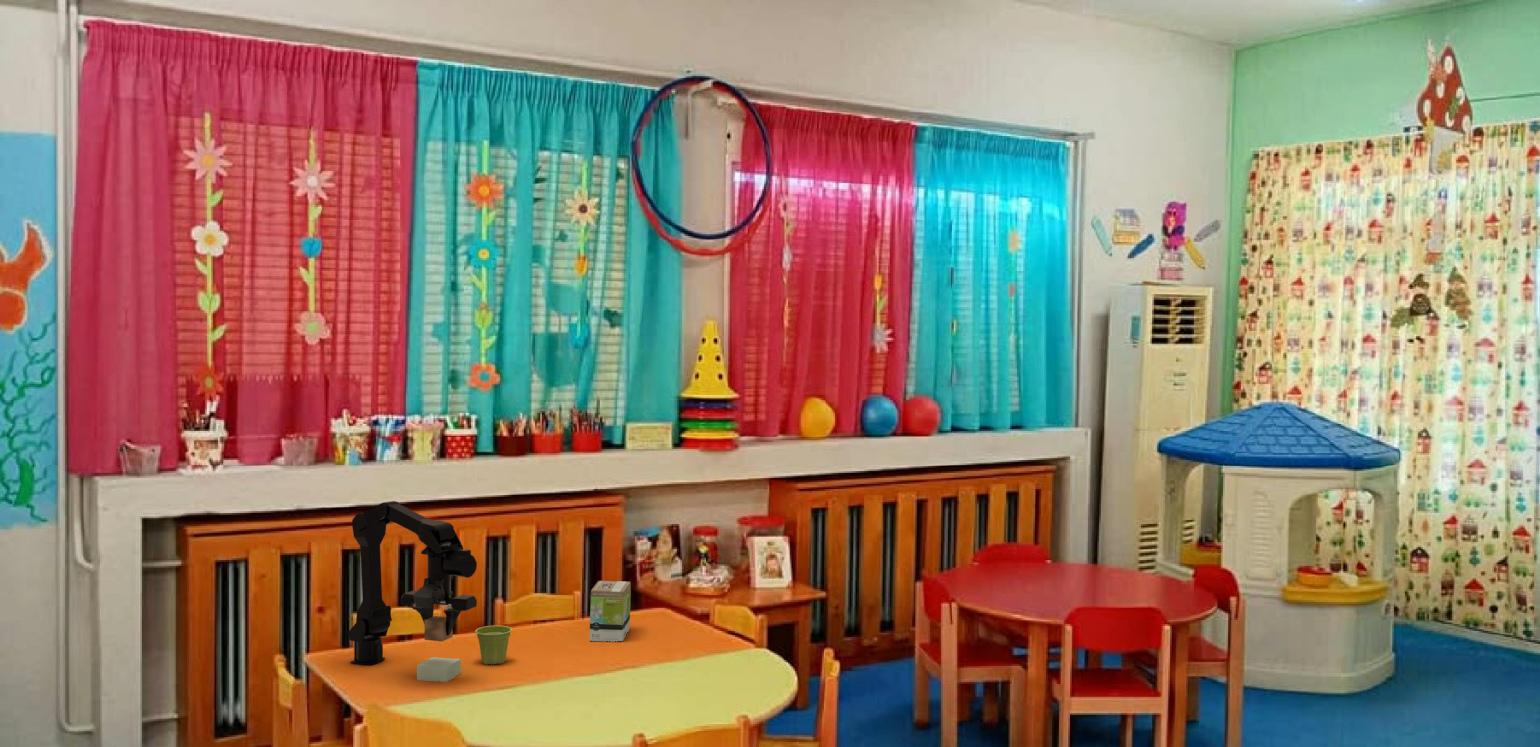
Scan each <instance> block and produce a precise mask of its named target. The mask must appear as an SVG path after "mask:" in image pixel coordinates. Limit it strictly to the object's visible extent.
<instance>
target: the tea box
mask: <svg viewBox="0 0 1540 747" xmlns="http://www.w3.org/2000/svg"><path fill="white" fill-rule="evenodd" d="M631 585H632V583H631V581H621V580H619V581H618V580H617V581H616V580H614V581H613V580H597V582H596V583H595V585H594V586H593V587H592V589H590V590H591V591H590V609H589V610H590V612H589V614H590V615H589V635H588V636H589V639H588V640H589V641H590V642H606V641H608V642H609V641H610V643H611V642H612V643H614V642H615V641H616V642H615V643H618V642H617V641H622V642H623V641H624V640H625V638H626V636H627V635H628V633H629V630H630V625H631V620H630V619H631V592H632V591H631V590H632V588H631V587H632V586H631ZM627 632H628V633H627ZM626 634H627V635H626Z"/></svg>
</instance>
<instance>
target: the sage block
mask: <svg viewBox="0 0 1540 747" xmlns="http://www.w3.org/2000/svg"><path fill="white" fill-rule="evenodd" d="M461 664H462V659H460V658H448V657H434V656H432V657H429V658H428V659H426V660H424V661H423V662H420V663H418V664H417V665H416V680H417V681H428V682H438V681H441V682H440V683H448V682H449V681H451V680H453V679H454V678H456V677H457V676H456V675H458V674H459V675H461V674H462V671H461V670H462V669H461V668H462V666H461ZM460 673H461V674H460ZM459 675H458V676H459ZM455 676H456V677H455ZM453 677H454V678H453ZM452 678H453V679H452ZM450 679H451V680H450Z"/></svg>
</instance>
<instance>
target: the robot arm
mask: <svg viewBox="0 0 1540 747" xmlns="http://www.w3.org/2000/svg"><path fill="white" fill-rule="evenodd" d="M392 522H393V523H395V524H396V525H399V526H400V527H402V528H404V529H406V530H408V531H410V532H412V533H414V534H415V535H416V536H417V537H418V540H419V541H420V542H421V543H423V545H425V547H424V549H422V550H421V551H420V554H421V555H424V556H425V555H426V556H427V559H426V560H427V565H426V567H427V570H426V577H425V578H424V580H423V586H422V587H420V588H419V589H418V590H410V591H408V592H405V593H403V594H402V596H401V598H400V605H401V606H404V607H405V606H407V607H411V608H412V610H415V611H416V612H418V613H419V615H420V617H421V619H422V621H423V625H424V626H425V620H426V619H429V618H431V617H434V610H435V605H443V606H444V605H445V606H448V608H446V609H443V612H444V614H445V617H446V635H447V636H448V635H450V633H451V631H452V628H454V626H455V623H456V621H457V619H458V618H459V615H460V614H461V612H467V611H468V610H469V611H470V610H471V609H473V608H476V607H478V606H477V605H478V601H477V597H475V595H471V594H470V595H469V594H460V595H458V596H455V597H454V591H451V586H452V584H451V583H452V582H451V581H453V580H454V576H455V577H460V578H461V577H462V578H466V579H467V578H471V577H473V576H474V574H475V573H476V571H477V567H478V565H477V564H478V562H477V560H476V558H475V556H474V555H473V554H472V550H471V549H464V545H462V542H461V540H460V539H459V536H458V534H457V533H456V531H455V528H454V525H453V524H451V523H450V522H449V521H448V522H447V521H444V520H438V519H430V518H428V517H426V516H424V515H422V514H419V513H418V512H416V511H414V510H411V509H410V508H408V507H406V506H404V505H402V504H401V503H399V502H398V501H395V500H392V501H383V502H381V503H379V504H378V505H377V506H375V507H373V508H371V509H368V510H366V511H364V512H359V513H357V514H355V516H354V517H353V518H352V520H351V525H352V532H353V537H354V539H355V540H356V542H357V544H358V545H359V548H360V564H361V565H360V571H361V572H360V574H361V575H360V576H361V593H362V595H361V596H362V600H361V603H360V606H358V609H357V611H356V618H355V623H354V625H353V626H351V628H350V630H349V631H348V632H347V635H348V639H349V642H350V641H351V642H354V643H353V645H354V646H353V649H354V650H353V651H354V652H353V654H354V655H353V658H354V659H352V660H350V664H356V665H357V664H358V665H364V666H365V665H367V666H373V665H376V664H378V663H380V662H382V661H384V660H386V657H384V654H383V652H384V651H383V649H384V645H383V643H382V637H387V634H388V630H389V628H390V626H391V622H392V621H393V619H392V614H391V612H392V606H390V605H387V604H386V603H385V602H384V599H383V590H382V589H383V587H382V583H383V582H382V561H381V560H382V559H381V556H382V555H381V545H382V542H383V539H384V537H385V536H386V534H387V533H386V531H387V525H388V524H390V523H392ZM452 596H453V597H452Z"/></svg>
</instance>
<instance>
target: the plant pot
mask: <svg viewBox="0 0 1540 747" xmlns="http://www.w3.org/2000/svg"><path fill="white" fill-rule="evenodd" d="M512 630H513V629H512V627H510V626H507V625H487V626H481V627H478V628H477V629H475V631H474V632H475V634H476V636H477V639H478V644H479V651H480V657H481V658H480V659H481V663H483V665H488V664H491V665H490V666H494V664H495V665H496V664H500V665H501V663H502V664H503V663H505V662H506V658H507V652H508V646H509V639H510V636H511V632H512ZM492 664H493V665H492Z"/></svg>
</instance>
